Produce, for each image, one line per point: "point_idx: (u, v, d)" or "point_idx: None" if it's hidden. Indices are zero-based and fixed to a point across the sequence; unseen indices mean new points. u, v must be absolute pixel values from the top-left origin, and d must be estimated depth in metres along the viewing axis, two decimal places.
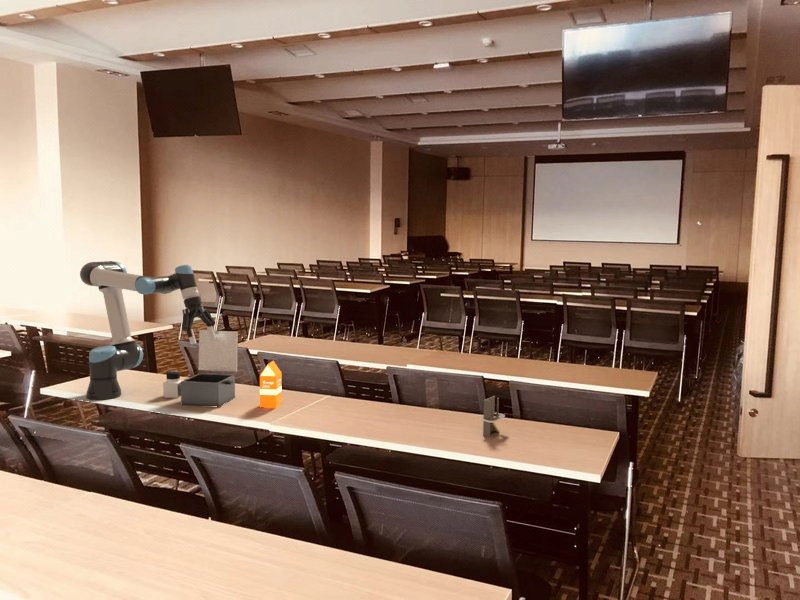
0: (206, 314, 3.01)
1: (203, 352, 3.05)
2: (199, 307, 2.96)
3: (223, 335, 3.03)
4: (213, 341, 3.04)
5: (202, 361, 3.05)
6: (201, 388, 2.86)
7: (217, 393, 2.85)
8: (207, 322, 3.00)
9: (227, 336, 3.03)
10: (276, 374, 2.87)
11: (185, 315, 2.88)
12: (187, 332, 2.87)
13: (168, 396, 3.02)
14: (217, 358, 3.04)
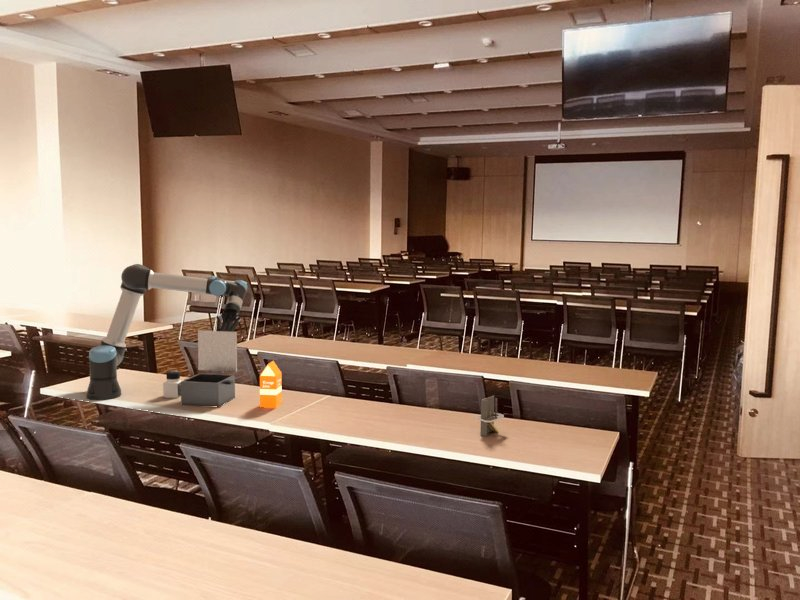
0: (220, 323, 3.14)
1: (202, 352, 3.04)
2: None
3: (222, 335, 3.02)
4: (212, 341, 3.03)
5: (202, 361, 3.05)
6: (201, 388, 2.86)
7: (217, 393, 2.85)
8: (224, 329, 3.12)
9: (226, 336, 3.02)
10: (276, 374, 2.87)
11: (237, 323, 3.13)
12: None
13: (168, 396, 3.02)
14: (217, 358, 3.03)
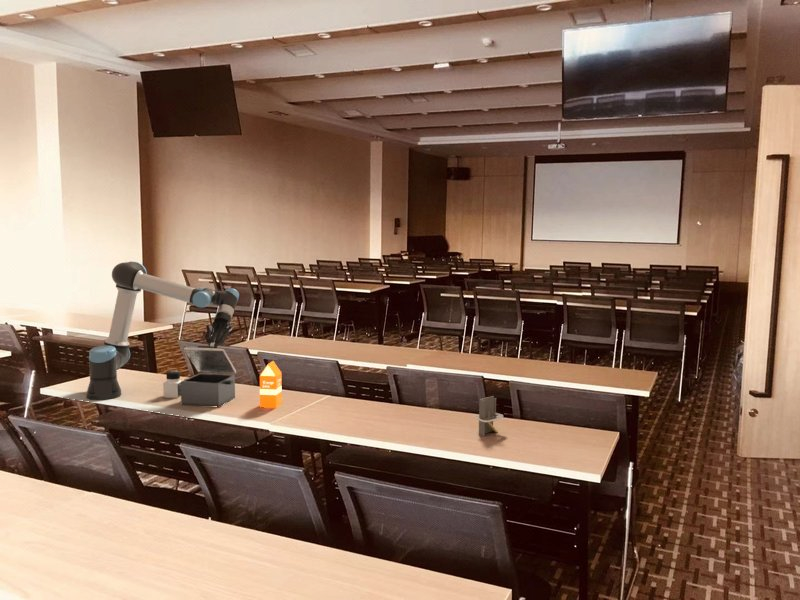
0: (210, 333, 3.04)
1: (196, 362, 2.98)
2: None
3: (210, 352, 2.90)
4: (202, 356, 2.93)
5: (198, 367, 3.01)
6: (201, 388, 2.86)
7: (217, 393, 2.85)
8: (214, 339, 3.01)
9: (214, 353, 2.90)
10: (276, 374, 2.86)
11: (228, 333, 3.03)
12: (216, 345, 2.98)
13: (168, 396, 3.02)
14: (212, 365, 2.99)
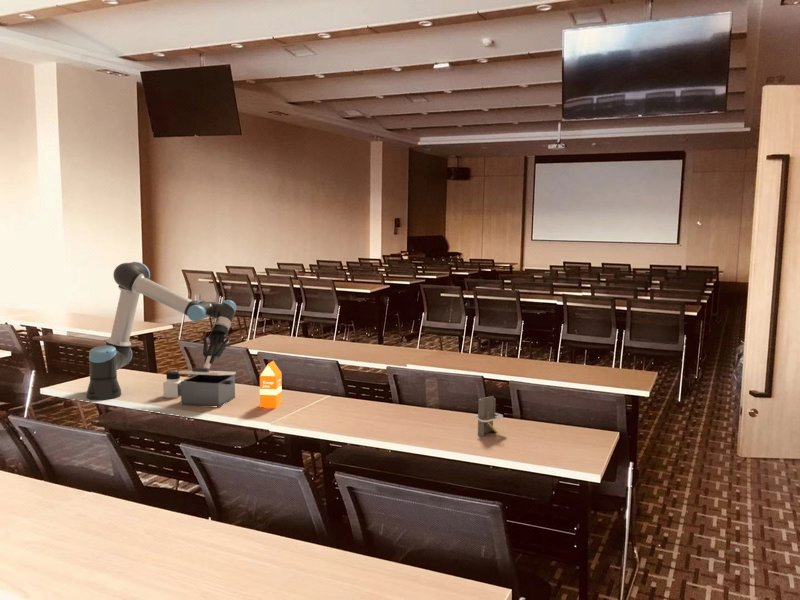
0: (207, 345, 3.01)
1: None
2: None
3: None
4: None
5: None
6: (201, 388, 2.86)
7: (217, 393, 2.85)
8: (211, 352, 2.98)
9: None
10: (276, 374, 2.87)
11: (225, 346, 3.00)
12: (213, 358, 2.95)
13: (168, 396, 3.02)
14: None
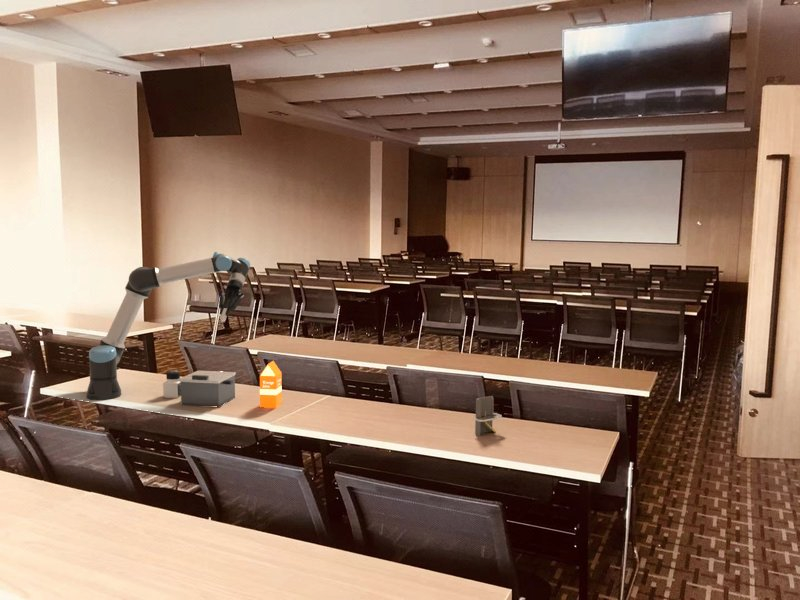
0: (223, 299, 3.18)
1: None
2: None
3: None
4: None
5: None
6: (201, 388, 2.86)
7: (217, 393, 2.85)
8: (226, 305, 3.15)
9: None
10: (276, 374, 2.87)
11: (239, 299, 3.17)
12: (229, 310, 3.12)
13: (168, 396, 3.02)
14: None
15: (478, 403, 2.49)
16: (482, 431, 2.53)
